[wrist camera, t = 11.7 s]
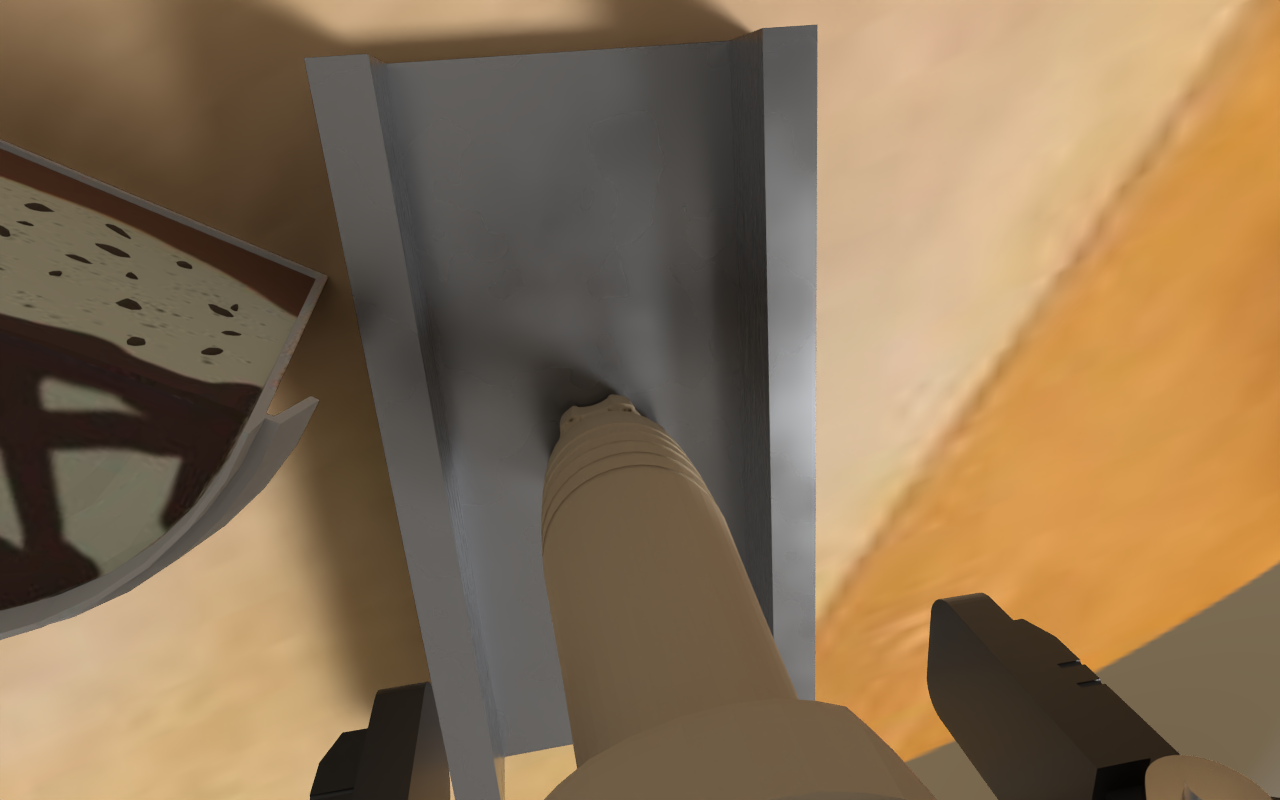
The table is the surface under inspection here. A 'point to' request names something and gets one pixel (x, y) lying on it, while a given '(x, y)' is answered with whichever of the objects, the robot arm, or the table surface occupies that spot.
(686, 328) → the track
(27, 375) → the food container
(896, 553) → the table surface
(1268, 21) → the table surface
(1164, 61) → the table surface
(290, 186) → the table surface
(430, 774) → the robot arm
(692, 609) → the handle
